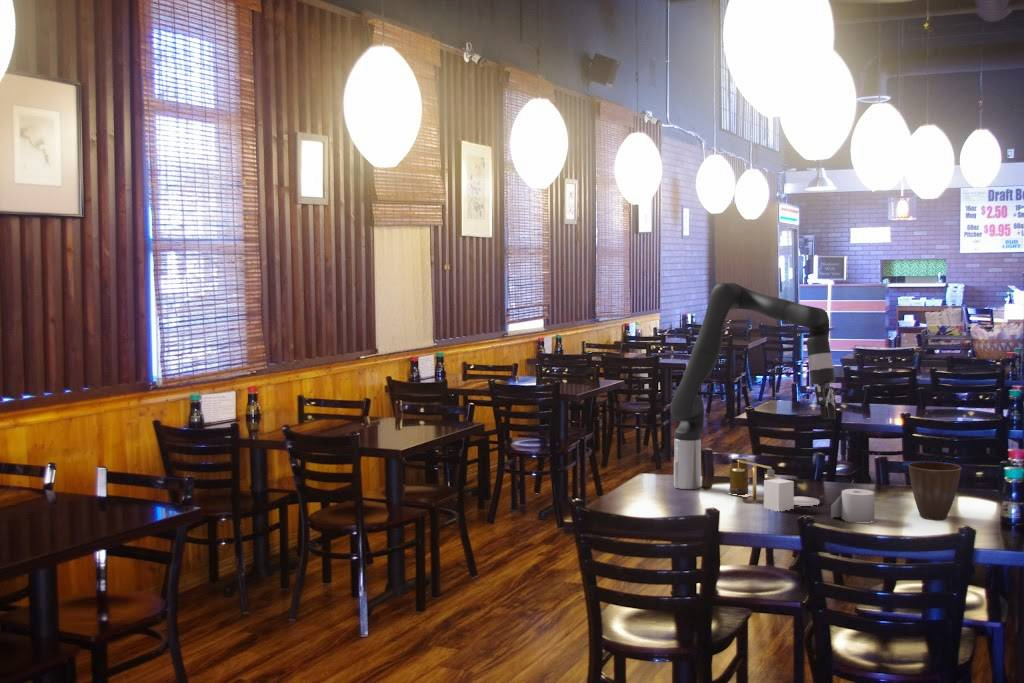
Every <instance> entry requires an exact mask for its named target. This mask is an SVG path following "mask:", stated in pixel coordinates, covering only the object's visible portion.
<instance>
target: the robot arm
mask: <svg viewBox="0 0 1024 683" xmlns="http://www.w3.org/2000/svg"><path fill="white" fill-rule="evenodd" d="M706 307H707V308H706V310H705V315H704V318H703V320H702V323H701V326H700V329H699V332H698V335H697V337H696V340H695V343H693V344H694V345H693V348H692V350H691V353H690V356H689V360H688V362H687V365H686V368H685V370H684V373H683V376H682V379H681V381H680V382H679V383H680V384H679V385H678V386H677V389H676V391H675V393H674V395H673V397H672V399H671V402H670V407H669V408H670V409H669V410H670V413H671V416H672V417H673V418H674V419H675V420H677V421H680V422H679V424H678V426H677V428H676V429H675V430H674V435H673V436H674V437H673V438H674V441H673V442H674V443H673V444H674V448H673V449H674V451H673V452H674V454H673V455H674V457H673V486H674V488H675V489H682V490H696V489H700V488H701V483H702V482H701V478H702V476H701V475H702V472H701V470H702V469H701V468H702V464H701V463H702V461H701V460H702V456H701V455H702V449H701V448H702V443H701V441H702V438H701V437H702V432H703V430H704V416H705V406H704V402H703V399H702V397H701V396H700V395H699V394H698V392H699V391H700V389H701V387H702V384H704V383H705V382H704V381H705V380H706V379H707V378H708V377H709V376H710V375H711V373H712V371H713V370H714V368H715V367H716V365H717V363H718V360H719V357H720V355H721V351H722V349H723V348H722V347H723V327H724V323H725V321H726V318H727V316H728V313H729V311H731V310H736V309H738V310H749V311H754V312H755V313H756V312H757V313H759V314H761V315H764V316H766V317H768V318H770V319H774V320H778V321H781V322H783V323H790V324H793V325H797V326H799V327H803V328H806V329H808V330H809V338H807V339H806V350H807V357H808V360H807V362H808V369H809V376H810V384H811V385H813V386H814V385H817V386H814V390H815V398H816V399H815V401H816V405H817V406H818V407H819V411H820V417H821V419H822V420H835V419H837V417H836V411H835V410H836V408H835V407H836V405H837V402H836V395H835V389H834V388H835V387H834V386H831V384H832V383H835V382H836V374H835V368H834V361H833V357H832V356H833V355H832V353H831V346H830V339H829V338H830V318H829V315H828V313H827V311H826V310H825V309H823V308H820V307H815V306H811V305H807V304H800V303H797V302H795V301H792V300H788V299H785V298H784V299H783V298H779V297H774V296H770V295H766V294H762V293H759V292H756V291H755V290H754V291H753V290H750V289H748V288H747V287H744V286H741V285H739V284H738V283H736V282H721V283H717V284H716V285H715V286H714V287H713V288H712V289H711V292H710V295H709V298H708V303H707V306H706Z"/></svg>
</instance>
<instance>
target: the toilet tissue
mask: <svg viewBox="0 0 1024 683" xmlns="http://www.w3.org/2000/svg"><path fill="white" fill-rule="evenodd" d="M830 516H831V519H835V518H834V517H836V518H841V520H842V519H843V520H845V521H844V522H847V521H850V522H871V521H874V522H875V492H874V491H873V490H868V489H862V488H860V489H859V488H846V489H843V490H842V489H841V494H840V496H838V498H836V500H835V501H834V502H833V503H832V504H831V505H830ZM841 516H842V517H841ZM843 520H842V521H843ZM850 522H849V523H850ZM871 523H872V522H871Z"/></svg>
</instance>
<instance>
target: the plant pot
mask: <svg viewBox="0 0 1024 683" xmlns="http://www.w3.org/2000/svg"><path fill="white" fill-rule="evenodd" d="M908 471H909V472H908V473H909V479H910V485H911V489H912V493H913V498H914V502H915V505H916V508H917V510H918V513H919V516H920V517H921V518H923V519H926V520H933V521H944V520H947V517H948V515H949V513H950V511H951V508H952V505H953V504H954V500H955V497H956V494H957V491H958V490H957V489H958V487H959V482H960V477H961V471H962V466H960V465H957V464H954V463H949V462H941V461H940V462H939V461H914V462H910V463H908Z"/></svg>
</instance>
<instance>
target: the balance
mask: <svg viewBox="0 0 1024 683" xmlns="http://www.w3.org/2000/svg"><path fill="white" fill-rule="evenodd" d="M739 462H741V463H745V464H747V465H750V466H751V465H752V494H753V496H750V497H740V500H741V499H742V500H741V501H743V502H759V503H758V504H764V496H757V495H756V494H757V469H758V468H757V467H760V468H764V469H767V471H766V472H767V473H766V474H765V475H764V478H765V479H767V480H770V479H777V478H778V475H776V474H775V470H774V469H772V466H768V465H764V464H759V463H755V462H749V461H747V462H746V461H742V460H738V468H733V469H732V471H735V472H744V471H745V469H742V468H739ZM743 502H742V503H743ZM760 502H761V503H760Z"/></svg>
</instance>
